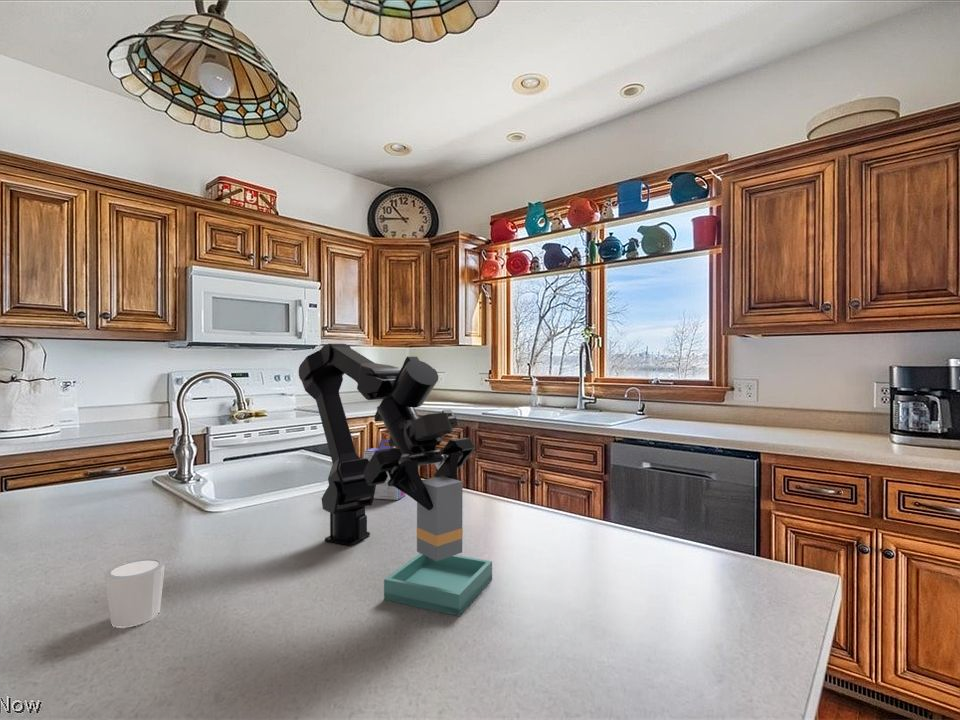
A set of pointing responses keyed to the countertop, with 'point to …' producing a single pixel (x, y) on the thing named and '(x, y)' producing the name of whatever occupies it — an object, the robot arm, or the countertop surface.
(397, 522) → the countertop surface
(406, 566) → the tray
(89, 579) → the countertop surface
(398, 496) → the ink cartridge box
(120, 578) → the white cup
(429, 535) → the gray rectangular block
